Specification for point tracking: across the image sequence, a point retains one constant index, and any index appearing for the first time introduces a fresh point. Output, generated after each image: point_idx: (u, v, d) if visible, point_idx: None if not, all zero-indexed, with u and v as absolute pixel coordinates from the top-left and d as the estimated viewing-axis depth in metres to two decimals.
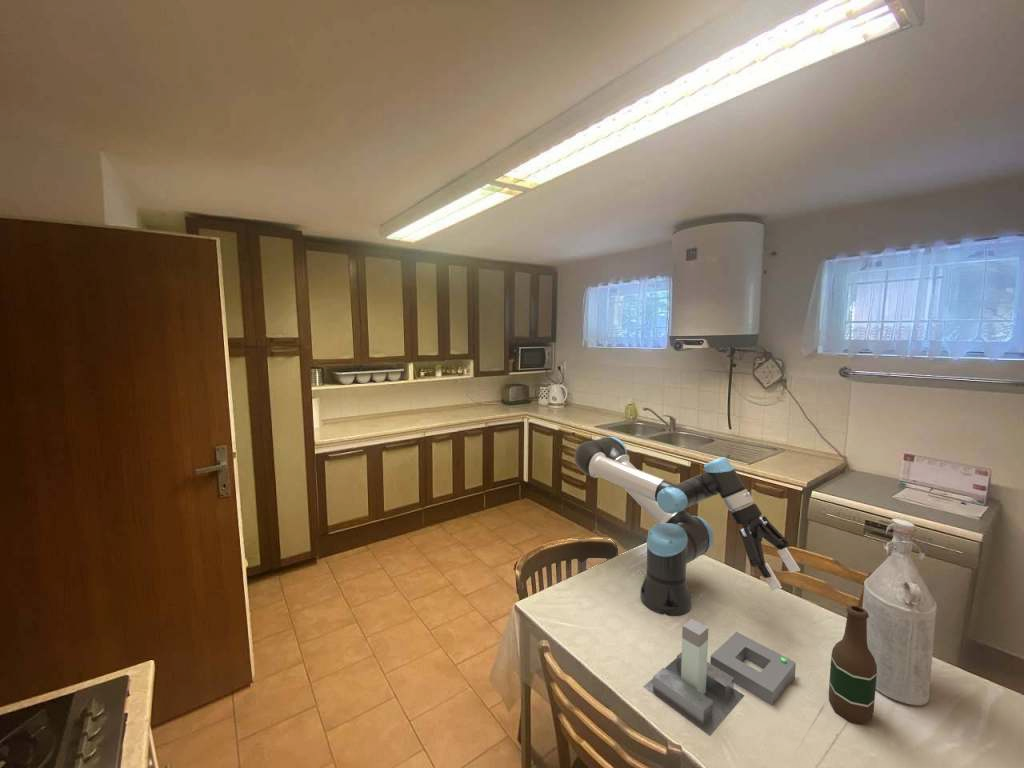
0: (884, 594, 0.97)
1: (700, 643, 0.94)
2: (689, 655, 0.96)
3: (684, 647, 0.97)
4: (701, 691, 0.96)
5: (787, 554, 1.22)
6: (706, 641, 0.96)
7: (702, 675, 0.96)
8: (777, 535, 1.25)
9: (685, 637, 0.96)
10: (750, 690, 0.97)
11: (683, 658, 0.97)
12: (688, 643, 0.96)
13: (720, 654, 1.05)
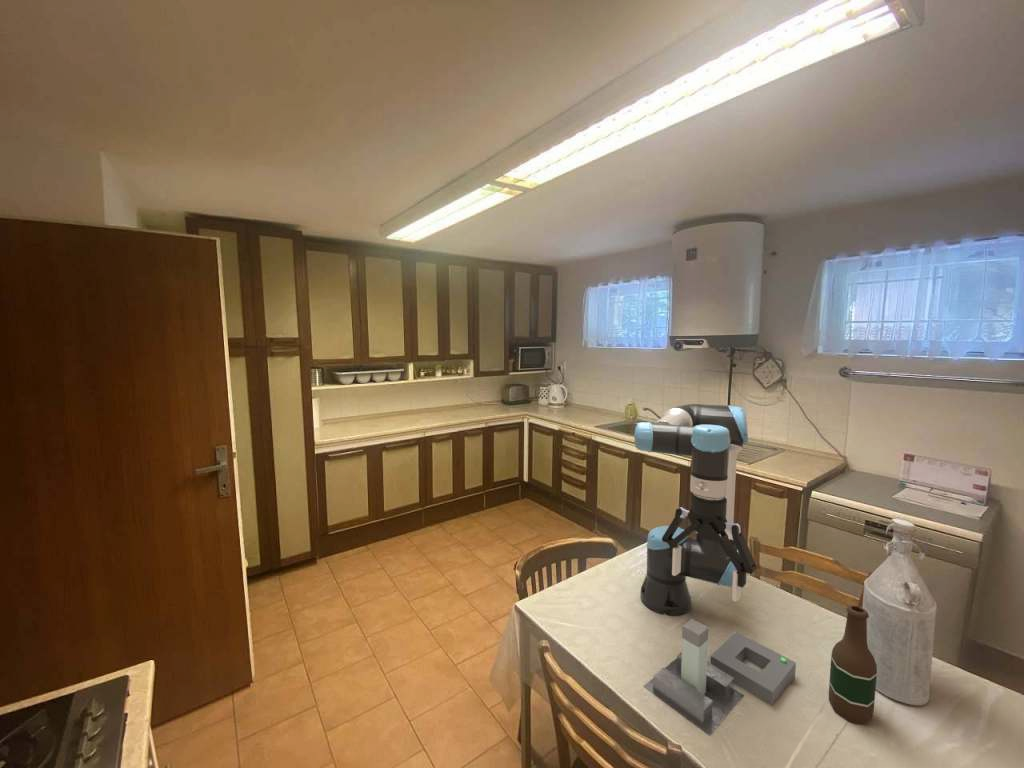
0: (884, 594, 0.97)
1: (700, 643, 0.94)
2: (689, 655, 0.96)
3: (684, 647, 0.97)
4: (701, 691, 0.96)
5: None
6: (706, 641, 0.96)
7: (702, 675, 0.96)
8: None
9: (685, 637, 0.96)
10: (750, 690, 0.97)
11: (683, 658, 0.97)
12: (688, 643, 0.96)
13: (720, 654, 1.05)
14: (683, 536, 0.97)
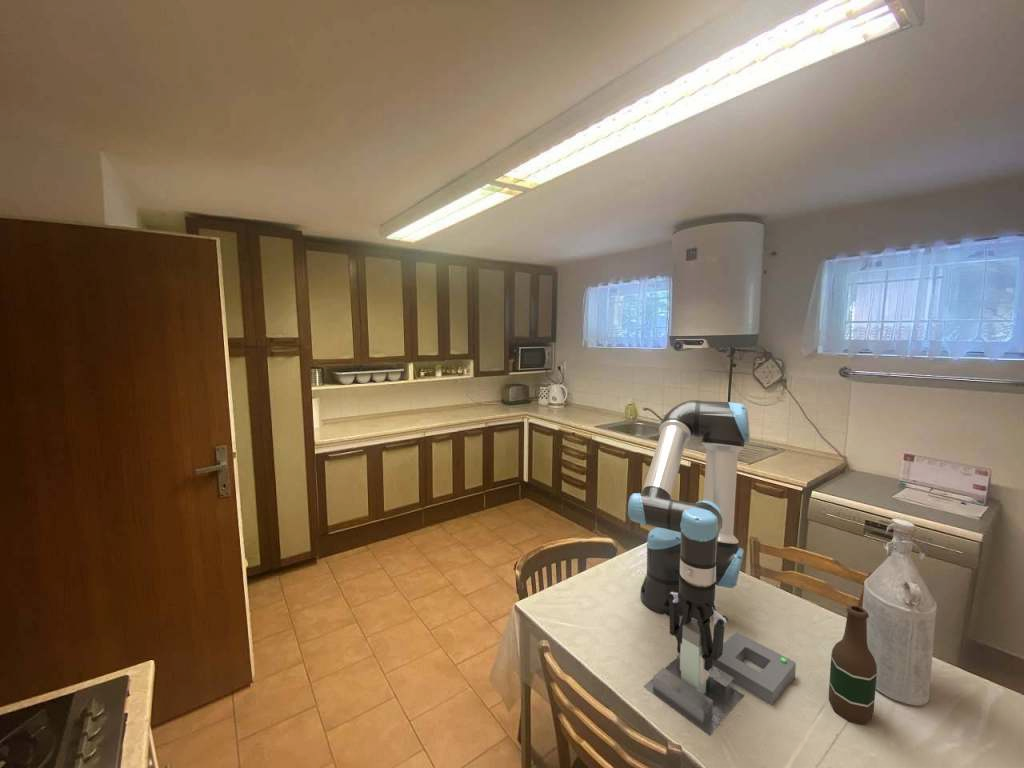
0: (884, 594, 0.97)
1: (700, 643, 0.94)
2: (689, 655, 0.96)
3: (684, 647, 0.97)
4: (701, 691, 0.96)
5: None
6: None
7: None
8: None
9: (685, 637, 0.96)
10: (750, 690, 0.97)
11: (683, 658, 0.97)
12: (688, 643, 0.96)
13: None
14: None
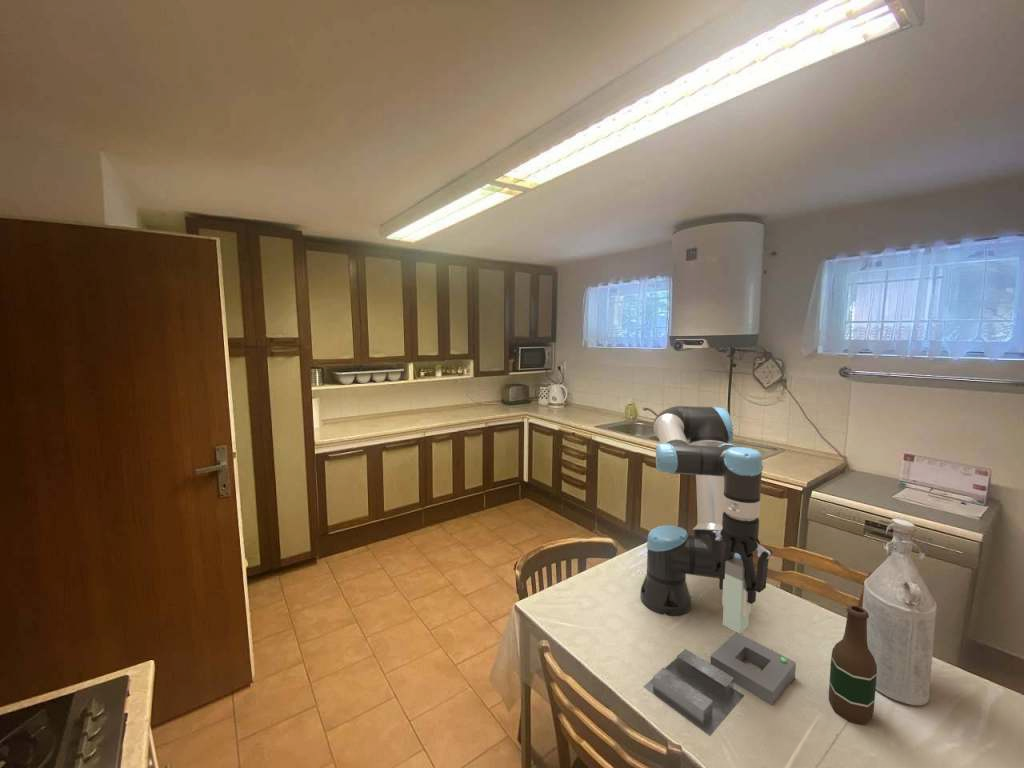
0: (884, 594, 0.97)
1: (743, 576, 0.97)
2: (732, 589, 0.98)
3: (726, 582, 0.99)
4: (743, 625, 0.99)
5: None
6: None
7: None
8: None
9: (728, 572, 0.99)
10: (750, 690, 0.97)
11: (726, 593, 1.00)
12: (731, 578, 0.98)
13: (720, 654, 1.05)
14: None
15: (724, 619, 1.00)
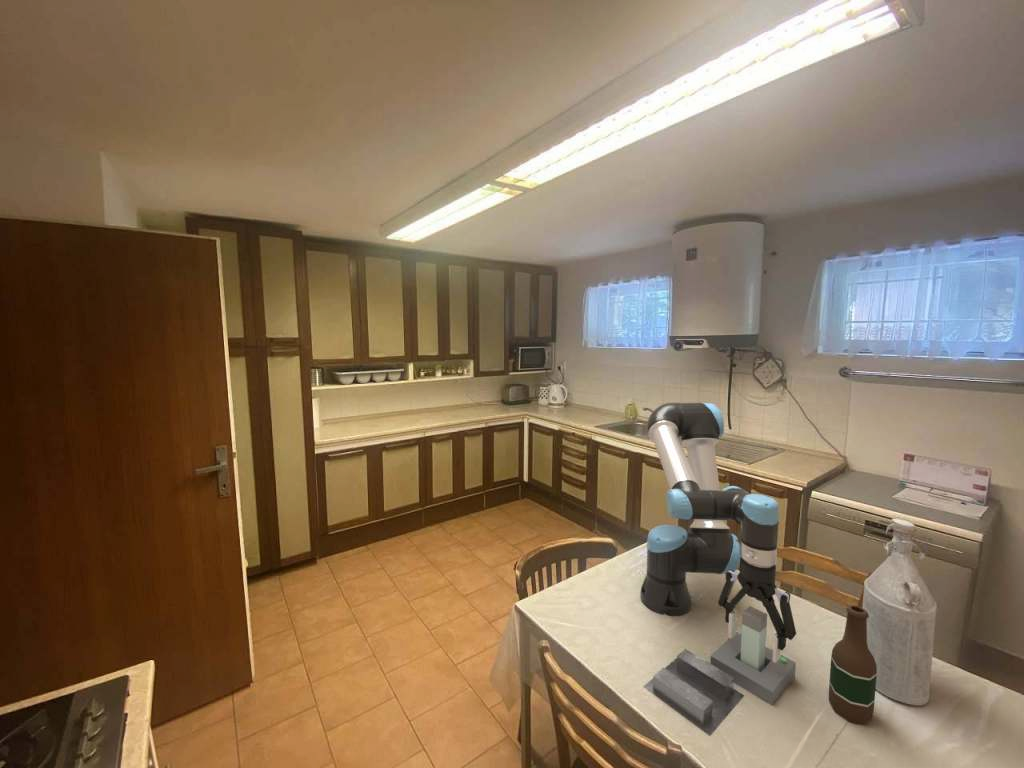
0: (884, 594, 0.97)
1: (761, 628, 1.00)
2: (750, 640, 1.01)
3: (744, 632, 1.02)
4: None
5: None
6: (765, 627, 1.02)
7: (761, 659, 1.02)
8: None
9: (745, 623, 1.02)
10: (750, 690, 0.97)
11: (743, 643, 1.03)
12: (748, 629, 1.01)
13: (720, 654, 1.05)
14: (737, 600, 1.04)
15: None
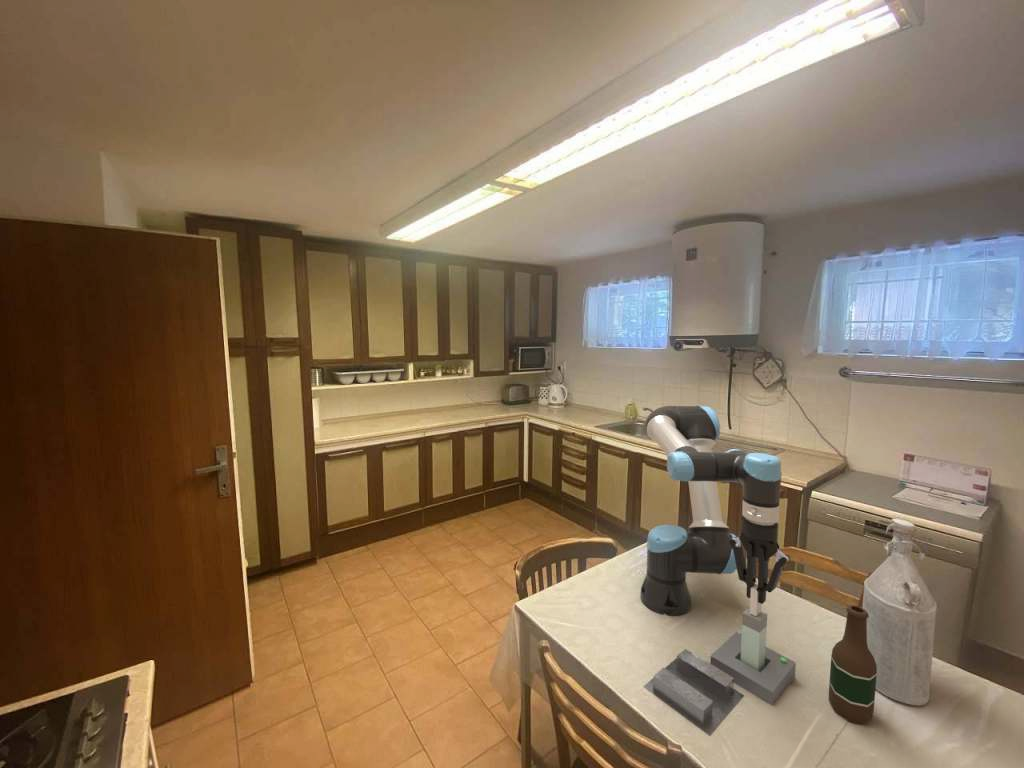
0: (884, 594, 0.97)
1: (761, 628, 1.00)
2: (750, 640, 1.01)
3: (744, 632, 1.02)
4: None
5: None
6: (765, 627, 1.02)
7: (761, 659, 1.02)
8: None
9: (745, 623, 1.02)
10: (750, 690, 0.97)
11: (743, 643, 1.03)
12: (748, 629, 1.01)
13: (720, 654, 1.05)
14: (750, 567, 1.01)
15: None
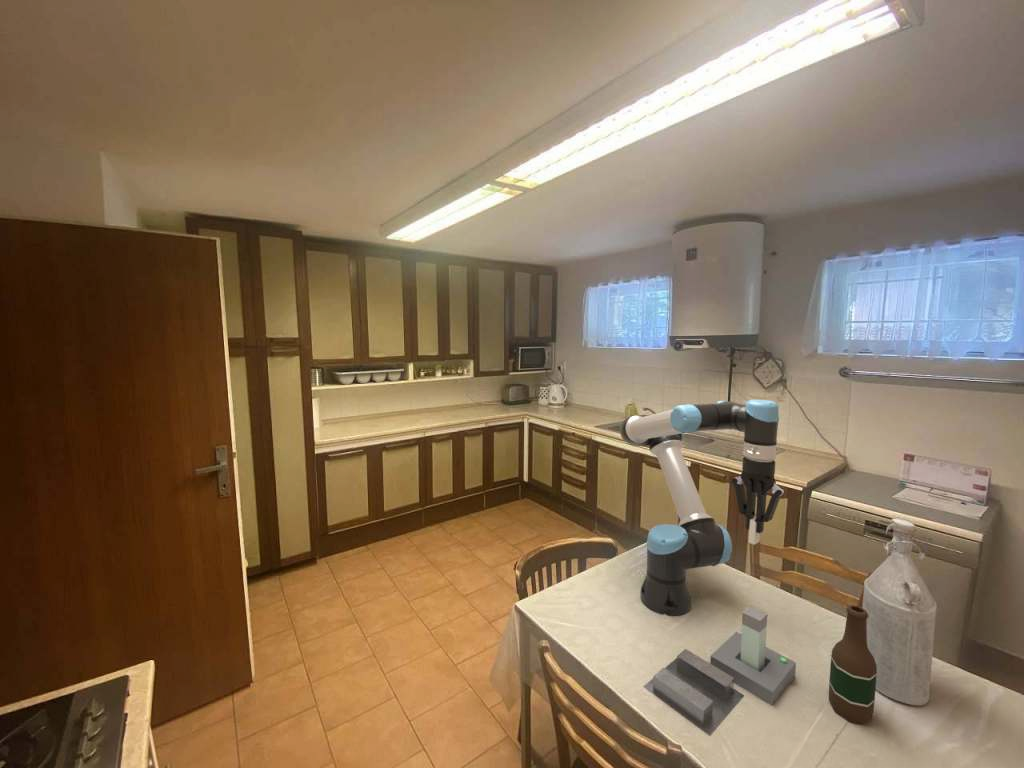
0: (884, 594, 0.97)
1: (761, 628, 1.00)
2: (749, 640, 1.01)
3: (744, 632, 1.02)
4: None
5: None
6: (765, 627, 1.02)
7: (761, 659, 1.02)
8: None
9: (745, 623, 1.02)
10: (750, 690, 0.97)
11: (743, 643, 1.03)
12: (748, 629, 1.01)
13: (720, 654, 1.05)
14: (750, 501, 1.13)
15: None
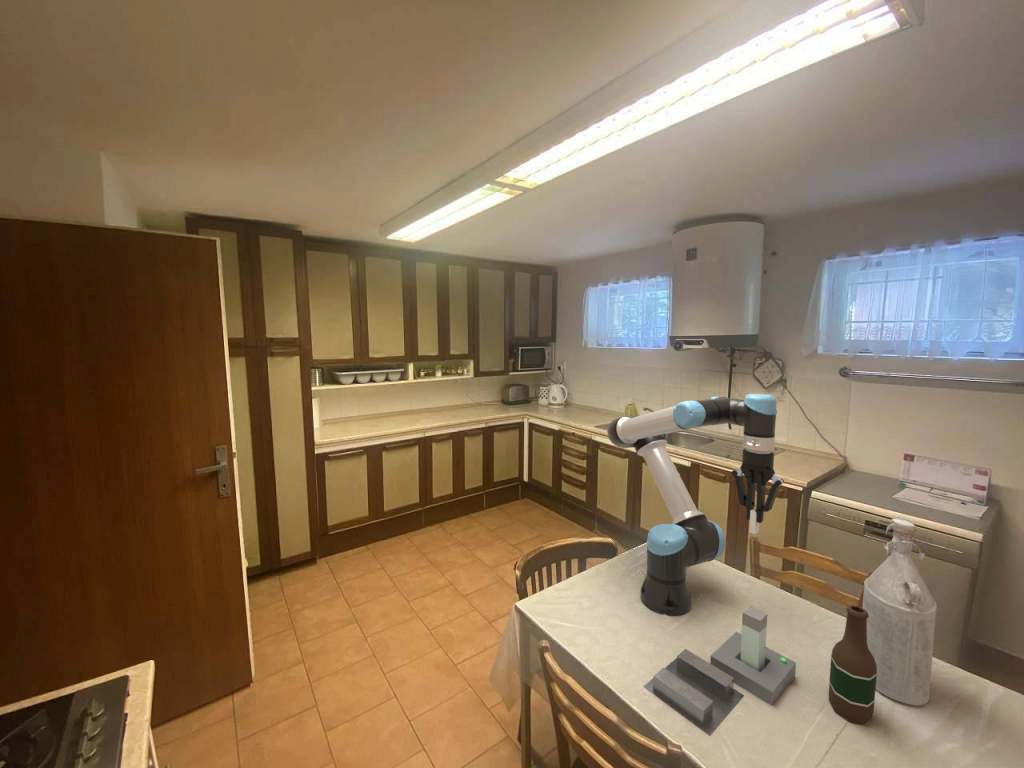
0: (884, 594, 0.97)
1: (761, 628, 1.00)
2: (749, 640, 1.01)
3: (744, 632, 1.02)
4: None
5: None
6: (765, 627, 1.02)
7: (761, 659, 1.02)
8: None
9: (745, 623, 1.02)
10: (750, 690, 0.97)
11: (743, 643, 1.03)
12: (748, 629, 1.01)
13: (720, 654, 1.05)
14: (750, 492, 1.17)
15: None
